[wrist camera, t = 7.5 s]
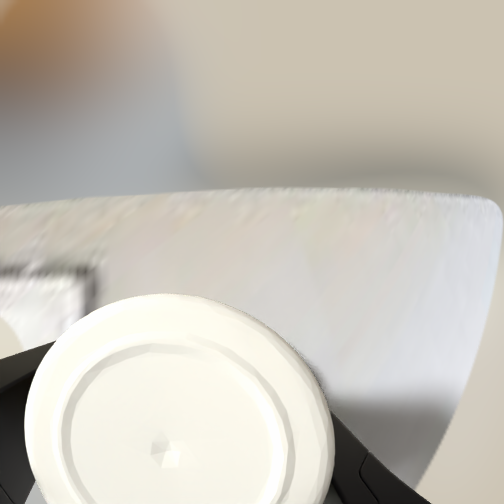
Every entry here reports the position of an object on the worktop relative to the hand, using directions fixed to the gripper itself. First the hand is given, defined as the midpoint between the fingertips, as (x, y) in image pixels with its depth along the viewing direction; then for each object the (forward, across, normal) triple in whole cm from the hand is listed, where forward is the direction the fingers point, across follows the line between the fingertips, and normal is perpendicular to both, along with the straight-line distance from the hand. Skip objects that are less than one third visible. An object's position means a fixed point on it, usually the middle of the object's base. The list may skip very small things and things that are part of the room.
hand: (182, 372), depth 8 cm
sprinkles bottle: (+5, 0, +7) cm, 9 cm away
